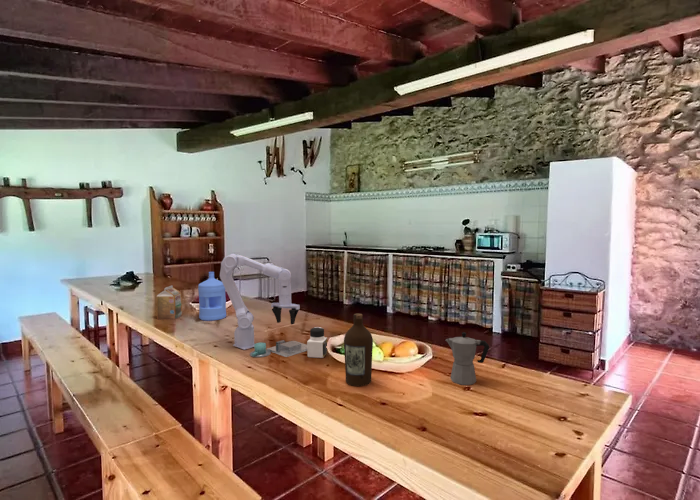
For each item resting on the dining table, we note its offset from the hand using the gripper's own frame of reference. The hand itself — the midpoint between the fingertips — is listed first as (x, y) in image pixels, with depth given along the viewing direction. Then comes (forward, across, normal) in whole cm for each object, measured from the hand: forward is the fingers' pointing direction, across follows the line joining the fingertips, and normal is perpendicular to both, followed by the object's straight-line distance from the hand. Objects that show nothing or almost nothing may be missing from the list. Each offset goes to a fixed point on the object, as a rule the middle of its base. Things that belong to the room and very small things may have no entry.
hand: (285, 323), depth 196 cm
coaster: (+10, -3, -16) cm, 19 cm away
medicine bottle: (+11, +21, -7) cm, 24 cm away
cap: (+10, -3, -17) cm, 20 cm away
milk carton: (+11, -96, +20) cm, 98 cm away
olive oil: (+11, +49, -28) cm, 57 cm away
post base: (+10, +6, -5) cm, 13 cm away
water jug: (+11, -70, +29) cm, 77 cm away
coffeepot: (+11, +85, -12) cm, 86 cm away
